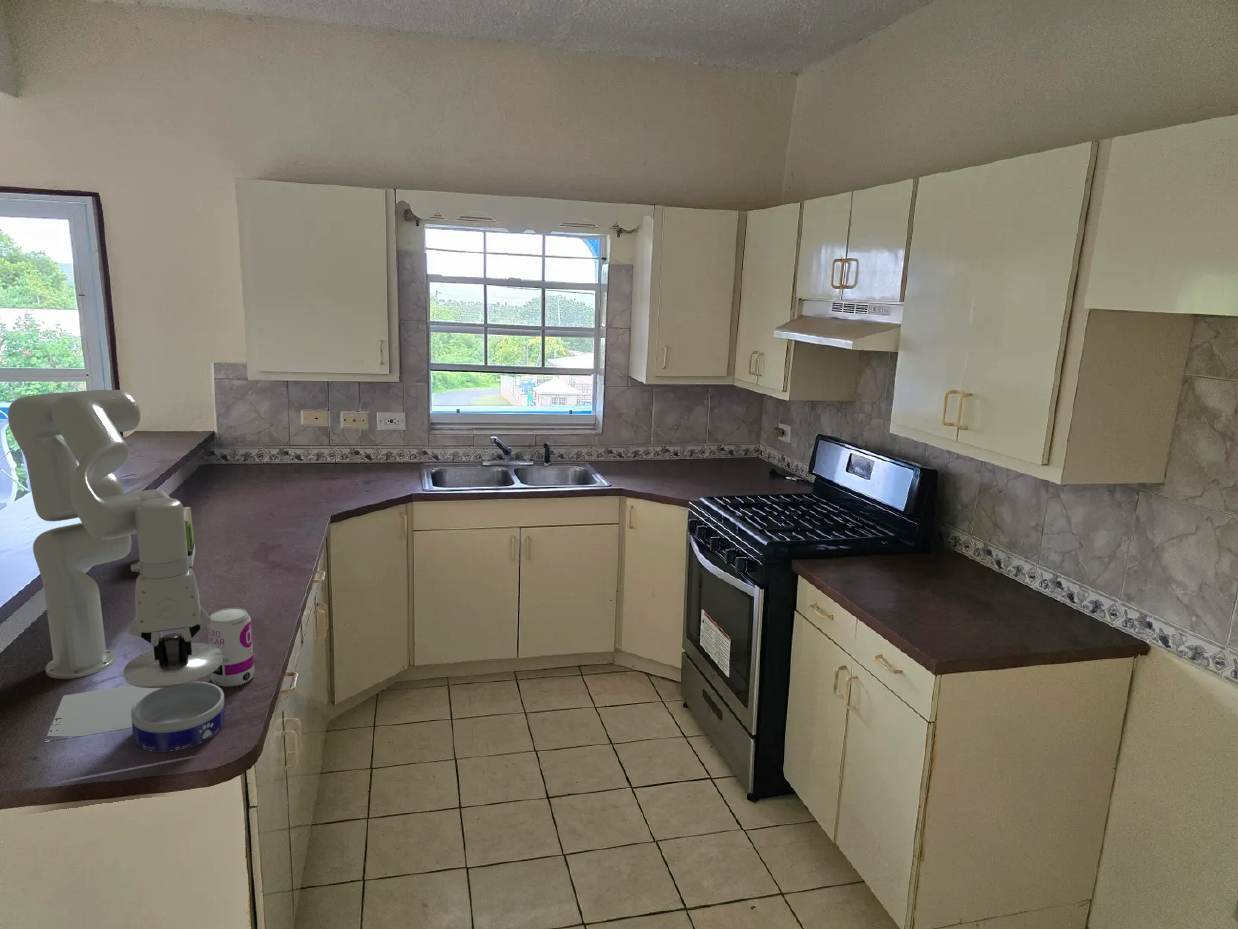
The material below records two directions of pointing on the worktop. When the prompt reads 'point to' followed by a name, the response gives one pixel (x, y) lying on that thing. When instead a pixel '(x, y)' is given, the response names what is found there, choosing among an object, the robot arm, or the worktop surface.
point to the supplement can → (232, 646)
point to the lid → (173, 664)
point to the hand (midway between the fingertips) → (174, 660)
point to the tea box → (189, 535)
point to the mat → (96, 711)
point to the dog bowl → (178, 716)
